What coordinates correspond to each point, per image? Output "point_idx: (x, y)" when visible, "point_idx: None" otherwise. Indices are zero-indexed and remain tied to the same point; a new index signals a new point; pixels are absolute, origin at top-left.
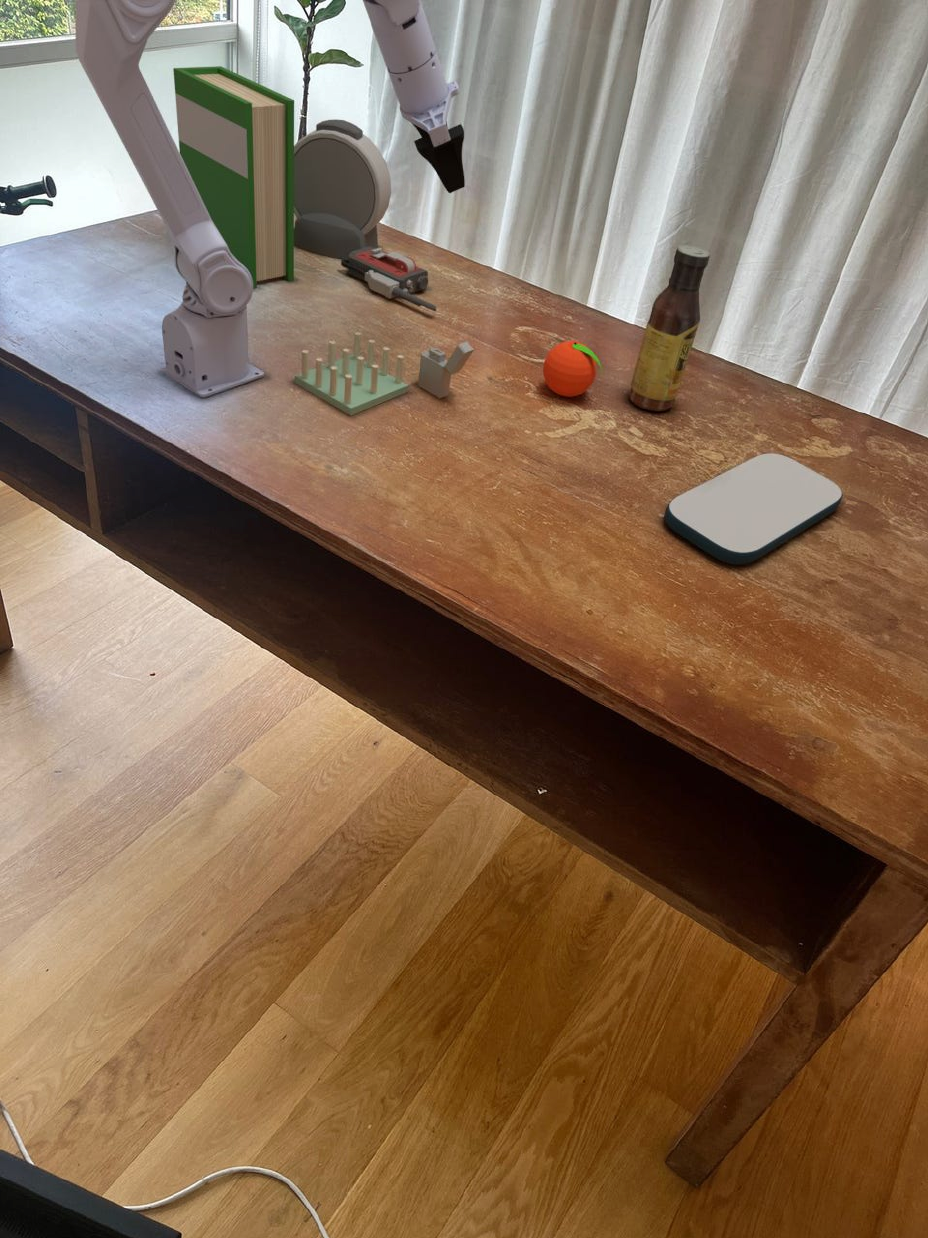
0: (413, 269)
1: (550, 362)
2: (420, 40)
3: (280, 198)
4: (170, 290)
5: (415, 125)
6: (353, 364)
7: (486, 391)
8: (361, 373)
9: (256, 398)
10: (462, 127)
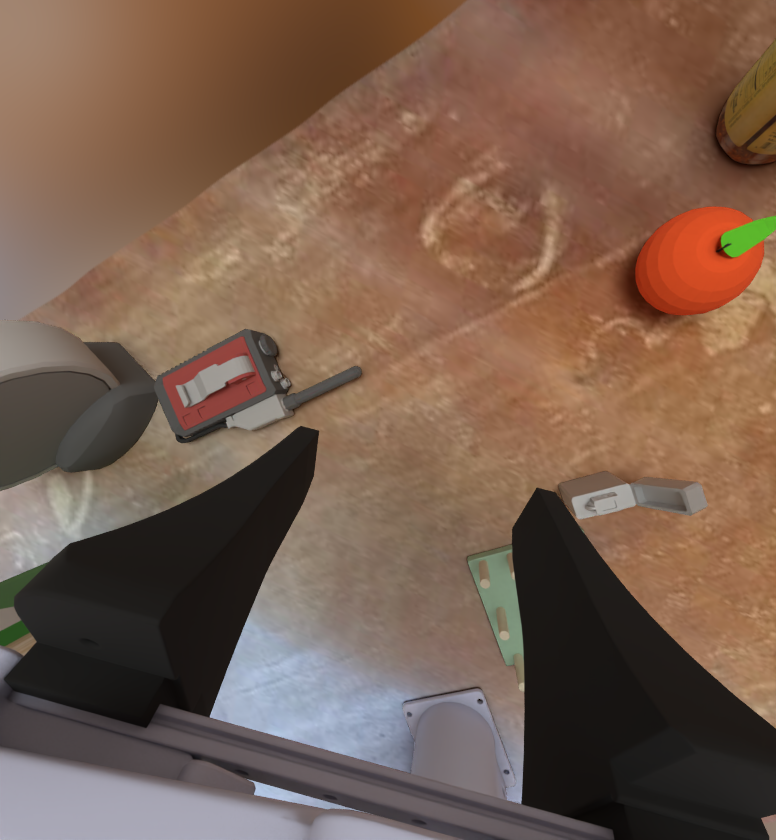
0: (248, 358)
1: (699, 307)
2: None
3: None
4: (221, 684)
5: (238, 635)
6: (498, 576)
7: (616, 407)
8: None
9: None
10: (755, 764)
